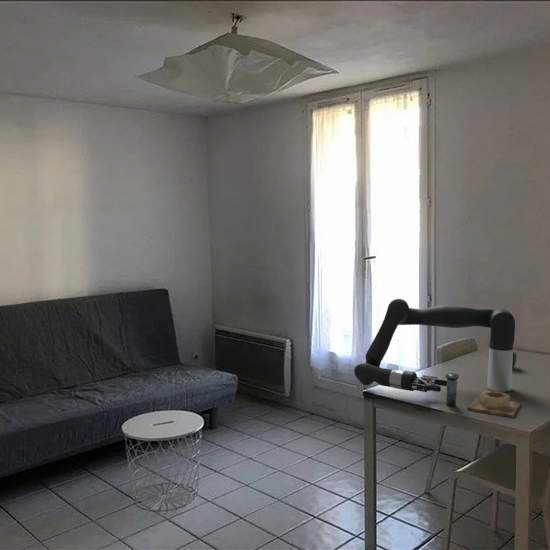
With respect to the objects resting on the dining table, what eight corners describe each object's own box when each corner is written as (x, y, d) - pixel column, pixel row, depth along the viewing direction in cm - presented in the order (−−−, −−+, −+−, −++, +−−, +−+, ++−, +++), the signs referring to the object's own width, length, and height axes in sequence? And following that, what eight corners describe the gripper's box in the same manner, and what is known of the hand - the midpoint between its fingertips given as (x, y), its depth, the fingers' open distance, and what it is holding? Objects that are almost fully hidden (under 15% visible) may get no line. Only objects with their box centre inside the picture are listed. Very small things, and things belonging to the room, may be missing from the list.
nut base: (467, 409, 221) (468, 396, 221) (477, 398, 235) (478, 386, 234) (513, 417, 213) (513, 404, 212) (520, 405, 226) (521, 392, 226)
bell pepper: (512, 366, 284) (513, 345, 283) (518, 370, 275) (519, 349, 274) (494, 365, 284) (495, 345, 283) (499, 370, 276) (500, 349, 275)
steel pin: (442, 403, 229) (443, 373, 227) (454, 402, 229) (455, 372, 228) (447, 407, 224) (448, 376, 223) (459, 407, 225) (461, 376, 223)
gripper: (397, 375, 230) (438, 381, 221) (409, 366, 242) (449, 372, 233) (396, 393, 230) (438, 400, 222) (408, 384, 242) (448, 390, 234)
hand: (443, 386), depth 228 cm, fingers open, 8 cm apart
